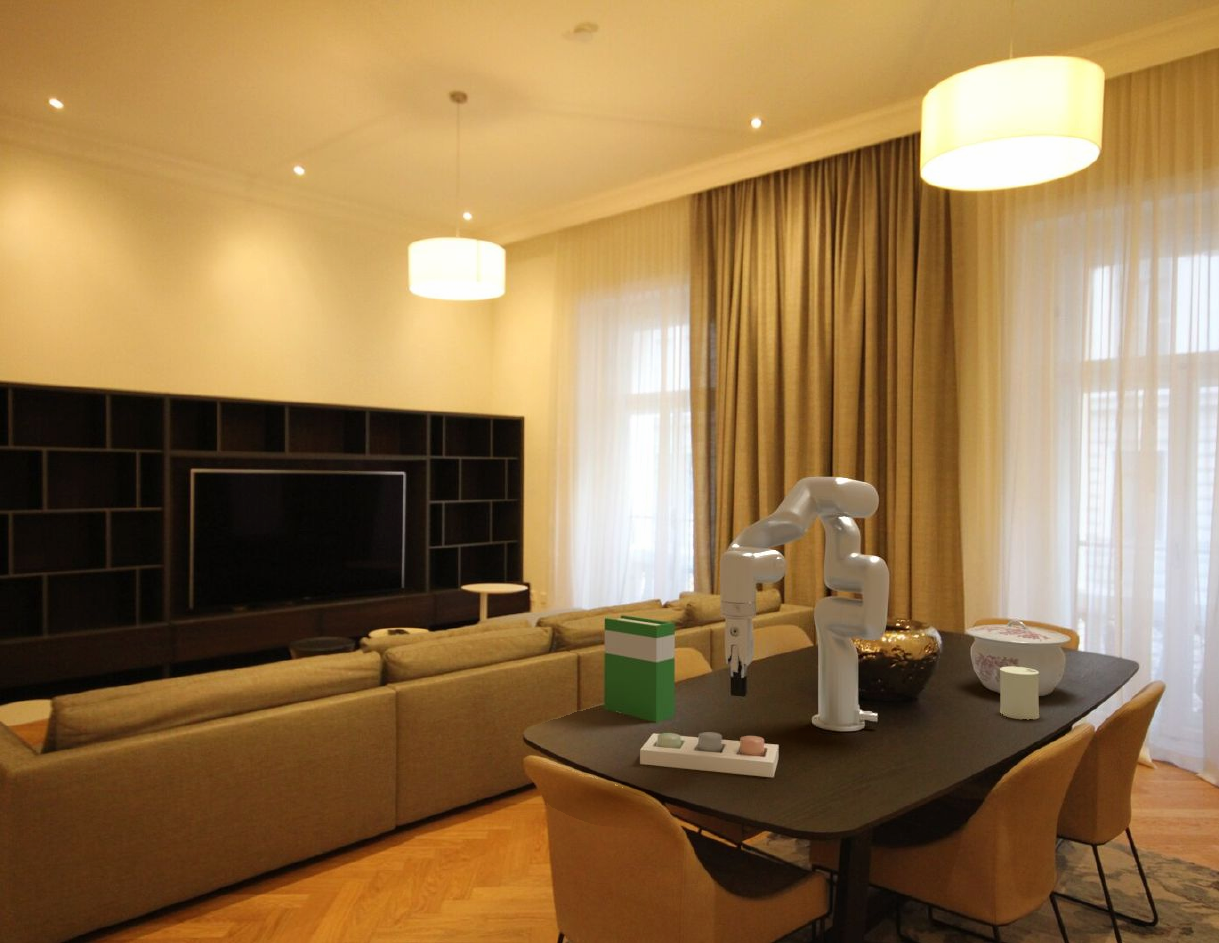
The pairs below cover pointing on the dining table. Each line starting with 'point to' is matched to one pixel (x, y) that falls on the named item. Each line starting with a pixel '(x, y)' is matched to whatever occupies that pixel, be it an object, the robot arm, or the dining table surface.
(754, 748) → the terracotta button
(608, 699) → the hardback book
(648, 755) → the button panel
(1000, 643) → the chamber pot
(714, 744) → the grey button
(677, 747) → the sage button
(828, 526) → the robot arm
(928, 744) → the dining table surface
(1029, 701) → the can
